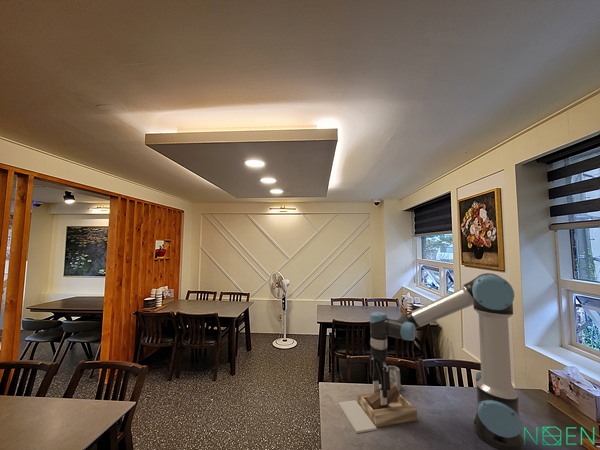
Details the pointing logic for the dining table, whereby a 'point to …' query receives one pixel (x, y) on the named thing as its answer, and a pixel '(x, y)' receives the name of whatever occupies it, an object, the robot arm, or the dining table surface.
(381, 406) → the walnut bar
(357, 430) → the felt mat
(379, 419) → the pocket board
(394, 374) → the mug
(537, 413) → the dining table surface
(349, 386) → the dining table surface
